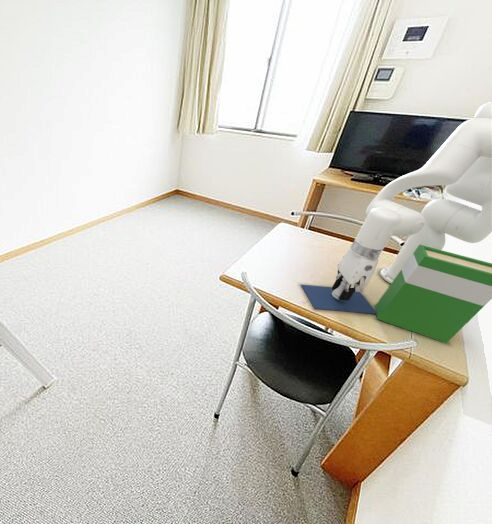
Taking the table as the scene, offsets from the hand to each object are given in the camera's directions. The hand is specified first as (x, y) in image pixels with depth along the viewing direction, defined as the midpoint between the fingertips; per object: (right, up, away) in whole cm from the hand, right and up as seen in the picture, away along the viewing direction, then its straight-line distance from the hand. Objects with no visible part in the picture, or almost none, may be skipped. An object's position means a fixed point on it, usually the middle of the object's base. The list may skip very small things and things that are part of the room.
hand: (340, 294), depth 101 cm
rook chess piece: (0, -1, +1) cm, 1 cm away
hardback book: (+17, -9, -7) cm, 20 cm away
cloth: (0, -2, +1) cm, 2 cm away
